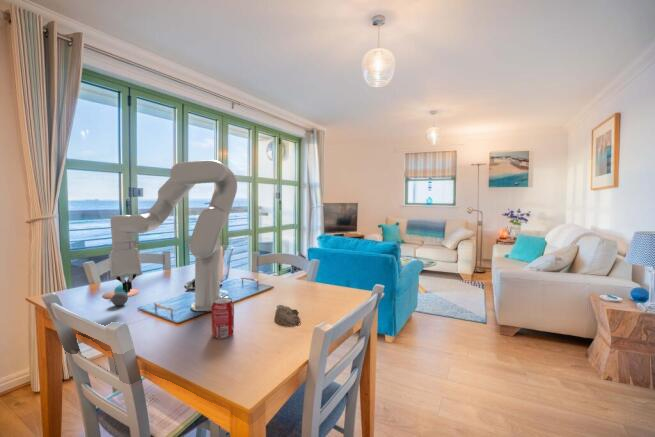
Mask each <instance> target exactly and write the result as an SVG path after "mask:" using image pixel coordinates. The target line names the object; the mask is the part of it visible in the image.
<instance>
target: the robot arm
mask: <svg viewBox="0 0 655 437" xmlns="http://www.w3.org/2000/svg"><path fill="white" fill-rule="evenodd" d="M169 175H170V177H169V178H168V179H167V181H165V182H164V184H162V186H160V187H159V189H158V191H157V199H156V201H155V202H154V204H153V205H152V206H151V207H150V208H149V209H148V210H147V212H146V213H145V212H144V213H139V214H135V215H134V214H133V215H132V214H116V215H115V214H114V215H113V216H111V217H110V219H109V220H110V233H111V235H110V236H111V245H112V250H110V252H109V271H110V272H109V273H110V274H109V279H110V280H113V281H114V280H116V281H119V282H120V283H122V284H121V285H122V286H123V291H124V290H125V293H127V292H130V289H133V285H132V282H133V280H135V279H136V277H140V276H142V275H143V272H142V264H141V256H140V252H139V248H138V247H137V246H140V244H141V243H140V241H136V236H135V234H146V233H149V232H151V231H153V232H154V231H155V230H157V229H158V228H159V227H160V226H161V225H163V223H164V222H165V221H166V220H167V219H168V218H169V216H170V215H171V214H172V212H173V211H174V210H175V208H176V207H177V205H178V204H179V203H180V201H181V200H182V199H184V197H185V196H186V195H187V193H189V192H190V191H191V190H192V188H193V187H194V186H195V185H196V184H197V185H198V184H211V183H212V184H215V189H214V191H213V192H212V193H213V194H212V196H211V199H210V202H209V205H208V207H206V208H204V209H203V210H202V211H201V212H200V214H199V215H198V217H197V220H196V222H195V225H194V228H193V230H192V234H191V237H190V240H189V244H188V249H189V250H188V251H189V252H190V253H191V255H192V256H193V257H194V278H195V291H194V302H193V303H191V304H190V309H191V310H192V311H195V312H198V311H207V312H212V305H213V303H214V300H215V299H217V298H221V297H224V296H222V293H220V292H221V291H220V290H221V288H220V287H221V286H220V282H221V281H220V278H221V277H220V276H221V274H220V272H221V270H220V269H221V264H220V263H221V245H222V244H221V243H222V242H221V238H220V236H221V233H222V230H223V228H224V227H225V226H226V225H227V224H228V223H227V222H228V219H229V217H230V213H231V211H232V207H233V203H234V200H235V198H236V195H237V190H238V182H237V181H238V180H237V178H236V175H235V173H234V172H233V171H232V170H231V169H230V167H229V166H227V165H226V164H224V163H222V162H221V161H219V160H215V159H210V160H209V159H208V160H195V161H182V162H181V161H180V162H177V163H175V164H174V165H172V167H171V169H170V174H169ZM125 276H128V279H127V280H126V279H125ZM127 290H128V291H127Z"/></svg>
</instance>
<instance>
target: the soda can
mask: <svg viewBox="0 0 655 437" xmlns="http://www.w3.org/2000/svg"><path fill="white" fill-rule="evenodd" d="M234 330H235V304H234V302H233V298H232V297H229V296H223V297H221V298H217V299H215V300H214V303H213V305H212V311H211V334H212V336H213V337H214V338H216V339H220V340H222V339H227V338H229V337H231V335H233V333H234Z"/></svg>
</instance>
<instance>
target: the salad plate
mask: <svg viewBox="0 0 655 437" xmlns="http://www.w3.org/2000/svg"><path fill="white" fill-rule="evenodd" d="M222 285H223V283H222V284H220V287H221V286H222ZM184 286H185V289H186V290H188V291H193V292H195V277H194V278H192V280H191V281H186V282H185V283H184Z"/></svg>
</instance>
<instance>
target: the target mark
mask: <svg viewBox="0 0 655 437" xmlns="http://www.w3.org/2000/svg"><path fill="white" fill-rule="evenodd" d="M139 293H140V290H138V289H136V288H132V289H130V292H129V293H128V294H127V296H128V298H129V297H133V296H136V295H138V294H139ZM114 295H115V294H114V290H110V291H108V292H106V293H105V292H104V294H102V298H103V299H107V300H112V297H113V296H114Z"/></svg>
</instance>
